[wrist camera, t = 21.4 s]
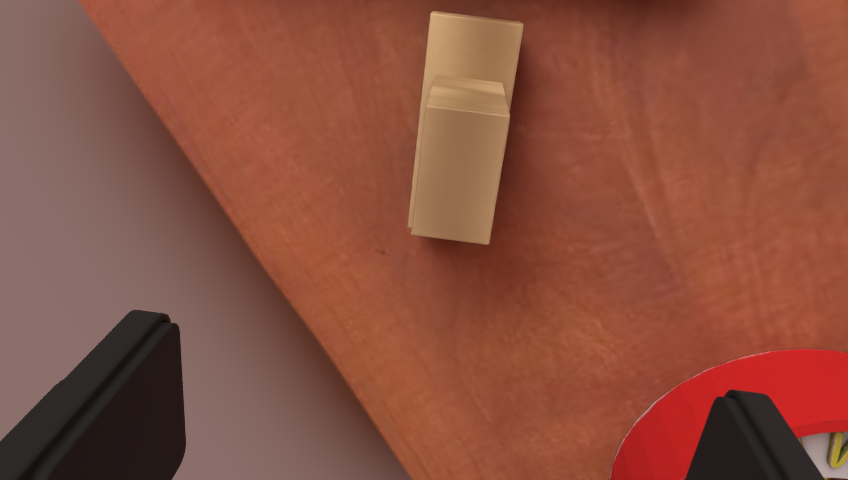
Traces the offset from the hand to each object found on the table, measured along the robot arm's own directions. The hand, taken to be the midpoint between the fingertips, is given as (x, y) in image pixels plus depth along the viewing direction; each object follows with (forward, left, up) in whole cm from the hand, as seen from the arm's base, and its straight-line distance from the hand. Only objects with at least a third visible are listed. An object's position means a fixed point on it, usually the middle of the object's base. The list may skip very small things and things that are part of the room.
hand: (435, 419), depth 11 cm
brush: (0, 0, -22) cm, 22 cm away
